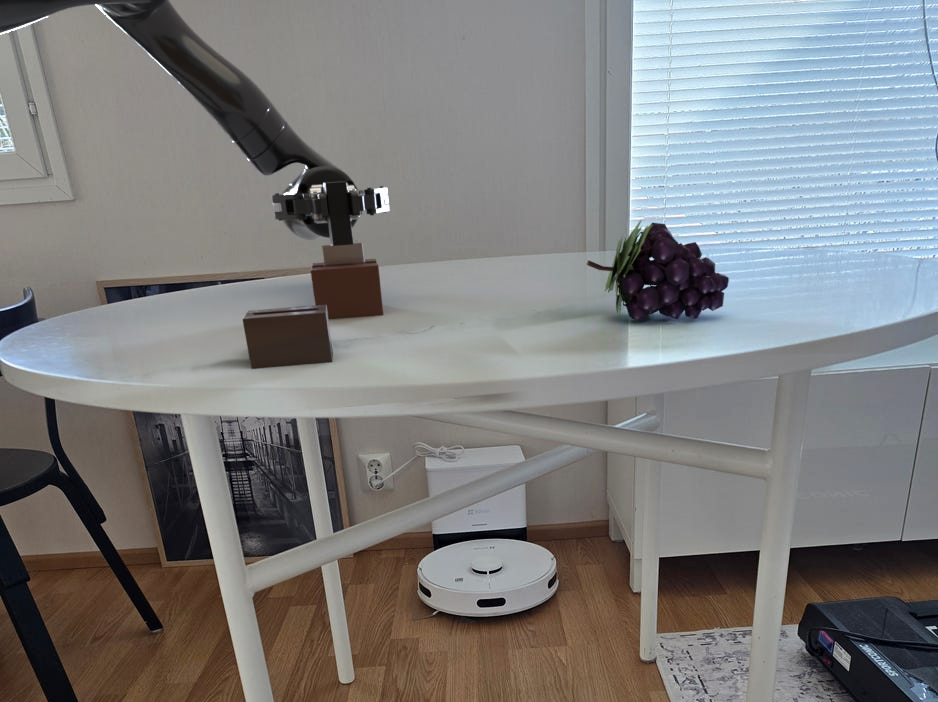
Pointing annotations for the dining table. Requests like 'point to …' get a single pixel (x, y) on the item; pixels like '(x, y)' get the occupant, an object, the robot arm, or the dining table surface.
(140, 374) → the dining table surface
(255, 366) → the knife block
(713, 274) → the fruit
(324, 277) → the slotted brown box
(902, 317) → the dining table surface
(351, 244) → the knife
